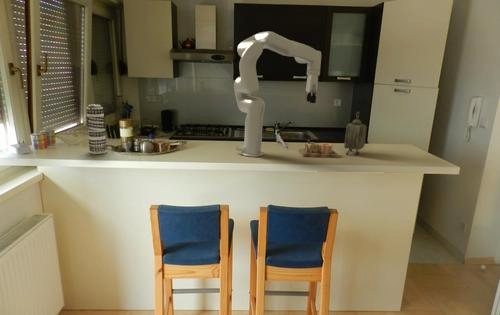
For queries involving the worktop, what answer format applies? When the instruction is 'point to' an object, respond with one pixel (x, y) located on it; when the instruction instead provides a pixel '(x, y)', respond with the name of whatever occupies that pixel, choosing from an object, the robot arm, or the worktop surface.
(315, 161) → the worktop surface
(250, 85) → the robot arm
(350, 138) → the tabletop clock
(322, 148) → the terracotta gear
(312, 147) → the gear board
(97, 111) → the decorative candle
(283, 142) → the caliper
